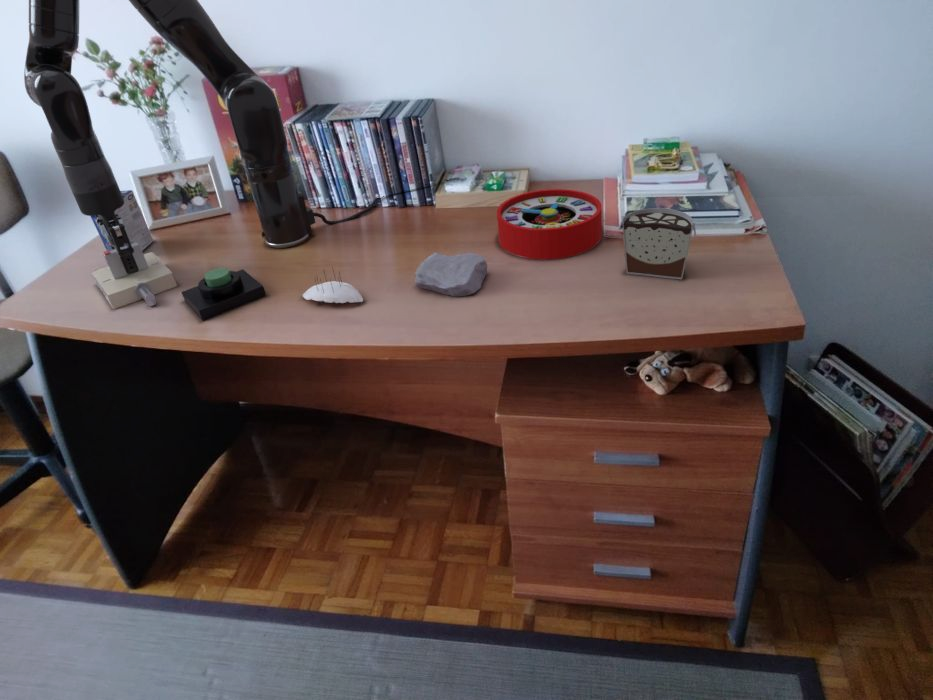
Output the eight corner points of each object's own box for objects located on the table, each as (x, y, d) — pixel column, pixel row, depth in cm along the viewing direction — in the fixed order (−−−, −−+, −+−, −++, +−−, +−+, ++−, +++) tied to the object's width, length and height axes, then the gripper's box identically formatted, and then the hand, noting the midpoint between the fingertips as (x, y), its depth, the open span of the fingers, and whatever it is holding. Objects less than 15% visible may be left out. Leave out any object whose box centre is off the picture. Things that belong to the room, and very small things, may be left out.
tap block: (157, 264, 141) (151, 250, 139) (177, 286, 131) (171, 271, 129) (97, 285, 135) (90, 271, 134) (113, 309, 126) (107, 294, 124)
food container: (697, 264, 117) (702, 209, 111) (691, 280, 112) (696, 224, 107) (626, 257, 122) (628, 204, 116) (617, 272, 117) (619, 218, 112)
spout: (152, 293, 129) (147, 280, 127) (161, 302, 125) (155, 289, 123) (138, 298, 127) (132, 285, 126) (145, 308, 124) (140, 295, 122)
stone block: (475, 306, 116) (491, 269, 122) (470, 285, 113) (486, 248, 119) (413, 303, 120) (431, 267, 126) (405, 282, 117) (425, 247, 123)
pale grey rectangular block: (146, 264, 134) (136, 240, 131) (148, 267, 132) (139, 243, 129) (112, 276, 131) (101, 252, 128) (114, 279, 129) (103, 254, 126)
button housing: (246, 279, 131) (240, 260, 128) (266, 296, 124) (260, 276, 121) (185, 302, 125) (177, 283, 123) (202, 321, 118) (195, 301, 116)
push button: (226, 274, 125) (224, 265, 124) (235, 281, 122) (232, 272, 121) (203, 282, 123) (200, 273, 122) (212, 290, 120) (208, 281, 119)
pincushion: (294, 306, 119) (286, 277, 116) (312, 289, 124) (305, 261, 121) (354, 312, 115) (348, 282, 112) (370, 294, 120) (364, 266, 117)
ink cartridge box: (132, 242, 153) (106, 180, 145) (154, 241, 152) (130, 178, 144) (109, 262, 145) (80, 197, 137) (132, 260, 144) (105, 196, 136)
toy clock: (582, 234, 118) (479, 224, 126) (582, 264, 121) (482, 252, 129) (614, 192, 132) (520, 185, 140) (614, 220, 135) (522, 212, 144)
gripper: (124, 186, 118) (158, 271, 128) (105, 170, 128) (138, 249, 138) (79, 199, 115) (117, 285, 124) (64, 181, 125) (100, 262, 134)
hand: (128, 266), depth 131 cm, fingers open, 6 cm apart
